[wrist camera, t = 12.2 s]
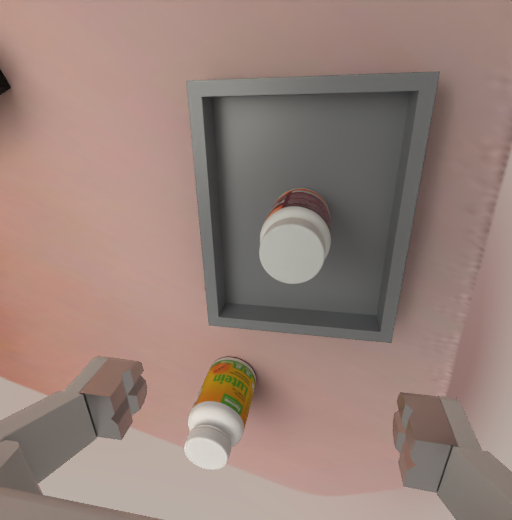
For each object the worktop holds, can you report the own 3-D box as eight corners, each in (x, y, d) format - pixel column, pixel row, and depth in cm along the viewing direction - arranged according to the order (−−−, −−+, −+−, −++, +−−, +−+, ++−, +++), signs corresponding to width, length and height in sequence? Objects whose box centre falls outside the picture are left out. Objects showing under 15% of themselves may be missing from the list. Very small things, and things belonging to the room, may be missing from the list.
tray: (203, 83, 26) (186, 80, 23) (424, 76, 23) (439, 71, 20) (219, 305, 34) (208, 325, 31) (384, 319, 32) (391, 342, 28)
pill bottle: (278, 180, 27) (260, 208, 20) (337, 194, 27) (341, 228, 19) (266, 234, 29) (246, 278, 22) (320, 248, 29) (318, 298, 21)
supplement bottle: (261, 364, 37) (241, 445, 28) (250, 398, 39) (229, 482, 30) (214, 349, 37) (180, 424, 28) (206, 384, 39) (172, 463, 31)
